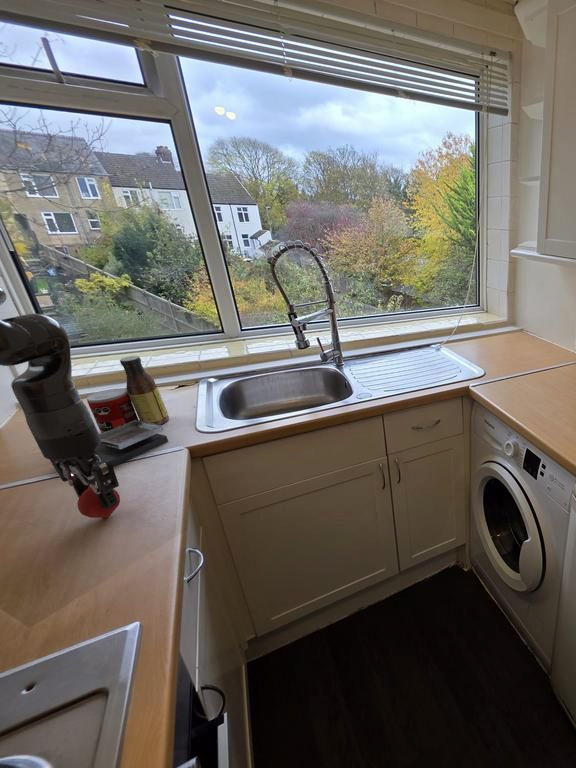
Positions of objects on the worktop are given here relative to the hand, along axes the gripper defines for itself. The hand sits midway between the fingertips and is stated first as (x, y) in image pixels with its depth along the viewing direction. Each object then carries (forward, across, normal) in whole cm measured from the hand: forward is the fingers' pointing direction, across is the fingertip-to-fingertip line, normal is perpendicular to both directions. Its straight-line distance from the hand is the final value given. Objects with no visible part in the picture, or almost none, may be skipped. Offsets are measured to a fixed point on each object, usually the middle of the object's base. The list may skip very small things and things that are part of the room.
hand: (99, 502), depth 79 cm
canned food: (+4, -36, +24) cm, 44 cm away
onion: (+4, 0, 0) cm, 4 cm away
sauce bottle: (+4, -32, +30) cm, 44 cm away
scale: (+4, -24, +16) cm, 29 cm away
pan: (0, -23, +19) cm, 30 cm away
